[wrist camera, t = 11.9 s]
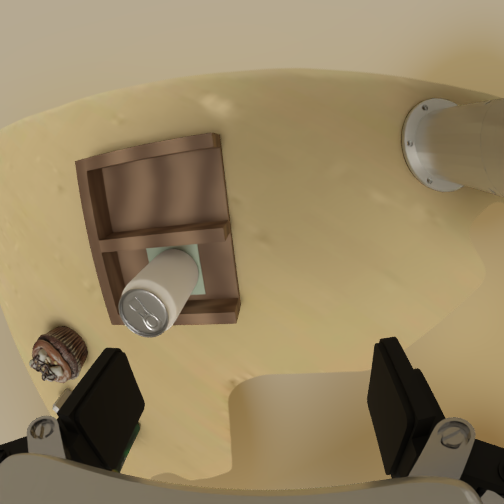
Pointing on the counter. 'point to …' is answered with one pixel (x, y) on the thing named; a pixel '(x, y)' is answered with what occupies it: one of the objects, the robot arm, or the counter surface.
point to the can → (158, 293)
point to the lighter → (61, 400)
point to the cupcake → (59, 355)
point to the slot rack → (162, 221)
